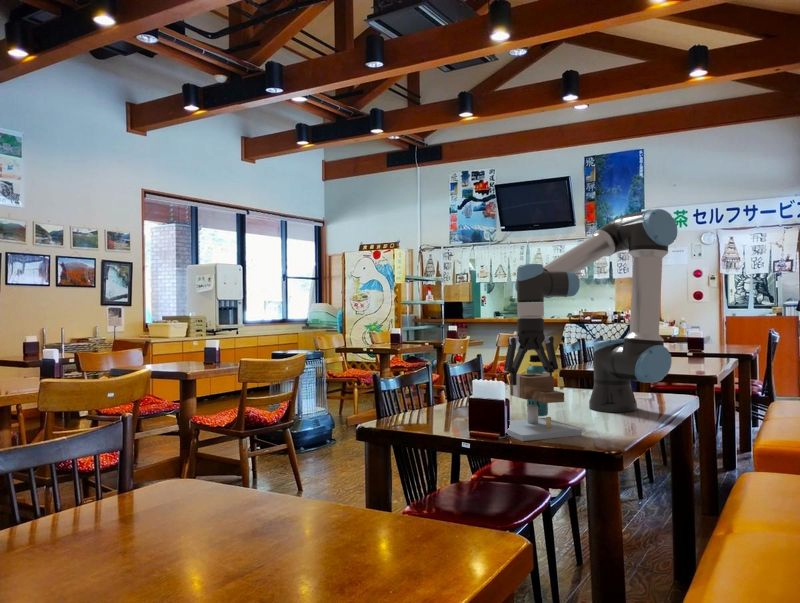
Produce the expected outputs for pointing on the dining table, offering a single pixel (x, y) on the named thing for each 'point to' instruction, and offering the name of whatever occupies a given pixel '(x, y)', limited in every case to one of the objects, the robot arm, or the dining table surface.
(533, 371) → the beverage bottle
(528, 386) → the stepped wooden block
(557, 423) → the post board
